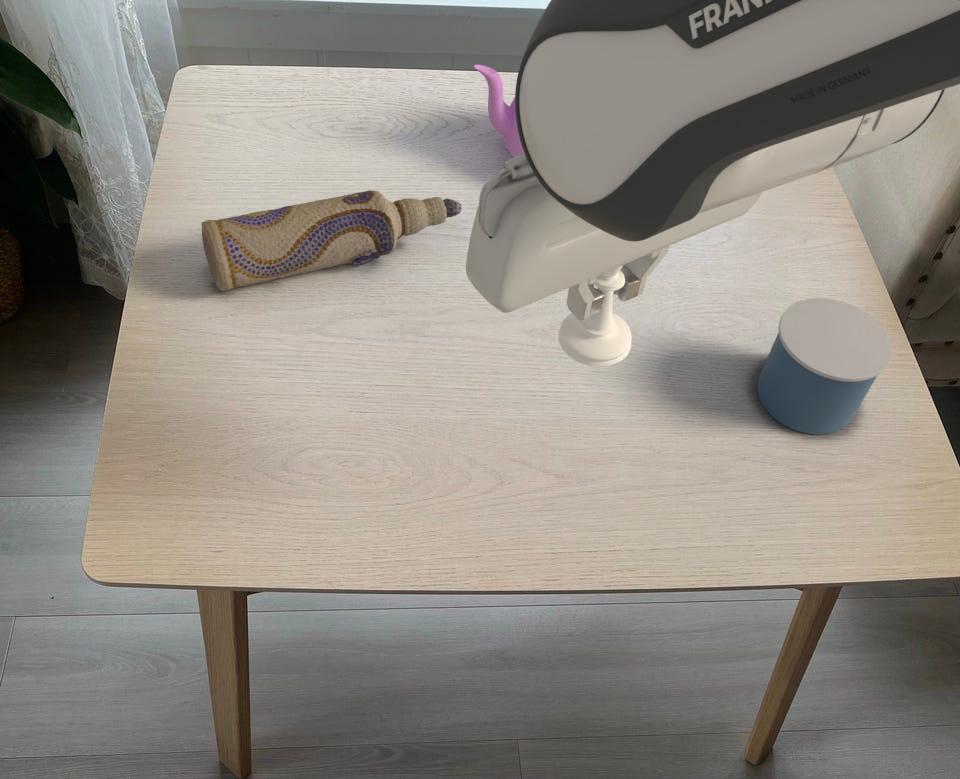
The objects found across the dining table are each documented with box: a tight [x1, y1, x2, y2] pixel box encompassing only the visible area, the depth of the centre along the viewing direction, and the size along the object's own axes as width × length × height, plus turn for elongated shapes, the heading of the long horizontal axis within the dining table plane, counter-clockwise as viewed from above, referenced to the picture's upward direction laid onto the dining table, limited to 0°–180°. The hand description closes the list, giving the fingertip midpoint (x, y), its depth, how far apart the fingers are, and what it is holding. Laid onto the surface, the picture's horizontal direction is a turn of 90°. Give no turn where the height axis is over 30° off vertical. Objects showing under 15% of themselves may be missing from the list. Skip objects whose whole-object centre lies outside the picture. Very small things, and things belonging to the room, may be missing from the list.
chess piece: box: [557, 265, 633, 368], centre depth 60 cm, size 5×5×10 cm
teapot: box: [473, 64, 525, 158], centre depth 104 cm, size 20×14×12 cm
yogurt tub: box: [756, 297, 893, 436], centre depth 85 cm, size 10×10×8 cm
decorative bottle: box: [200, 189, 463, 292], centre depth 93 cm, size 26×8×7 cm, turn 112°
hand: (604, 301), depth 61 cm, fingers closed on chess piece
